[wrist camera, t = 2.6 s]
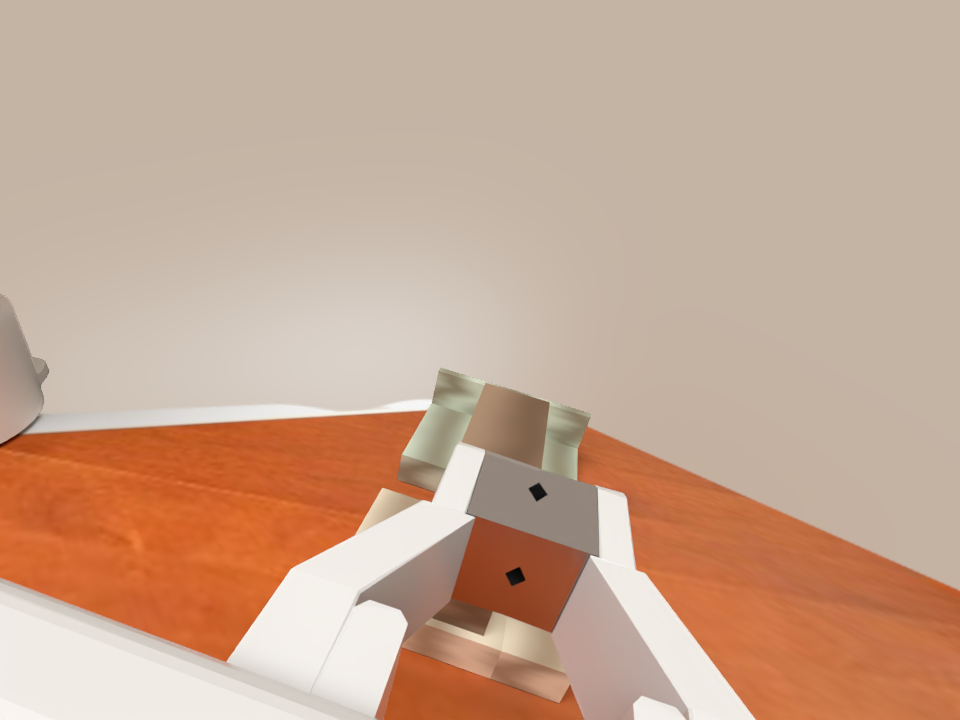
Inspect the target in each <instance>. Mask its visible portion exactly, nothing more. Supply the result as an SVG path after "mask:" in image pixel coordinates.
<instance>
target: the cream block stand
mask: <svg viewBox="0 0 960 720" xmlns="http://www.w3.org/2000/svg"><path fill="white" fill-rule="evenodd" d="M485 383H488V384H492V383H489V382H485V381H482V380H478V379H476V378H472V377H469V376H466V375H463V374H459V373H456V372H453V371H449V370H446V369H443V368H440V370H439V373H438V377H437V382H436V387H435V391H434V396H433V400H432V404H431V406H430V407H429V409H428V411H427V412H426V414H425V416H424V418H423V419H422V421H421V423H420V424H419V426H418V428H417V430H416V431H415V433H414V435H413V436H412V438H411V440H410V442H409V443H408V445H407V447H406V448H405V450H404V452H403V454H402V457H401V462H400V467H399V472H398V478H397V480H399V481H402V482H405V483H409V484H412V485H415V486H418V487H421V488H424V489H427V490H430V491H433V492H436V491H437V489H438V486H439V484H440V482H441V479H442V477H443V475H444V472H445V470H446V468H447V465H448V463H449V461H450V458H451V456H452V454H453V451H454V449H455V447H456V445H457V444H458V443H459V441H460V442H462V439H463V437H464V434H465V432H466V430H467V427H468V425H469V422H470V420H471V417H472V415H473V412H474V410H475V407H476V405H477V402H478V400H479V398H480V395H481V393H482V390H483V388H484V385H485ZM492 385H495V384H492ZM495 386H498V387H501V388H505V387H502V386H499V385H495ZM505 389H508V388H505ZM508 390H511V391H515V390H512V389H508ZM515 392H518V391H515ZM518 393H521V392H518ZM521 394H524V395H528V394H525V393H521ZM528 396H531V395H528ZM531 397H534V398H537V399H541V398H538V397H535V396H531ZM541 400H544V399H541ZM544 401H547V400H544ZM547 402H550V405H549V413H548V421H547V429H546V437H545V445H544V453H543V461H542V470H545V471H548V472H552V473H555V474H558V475H561V476H564V477H568V478H571V479H574V480H577V457H578V447H579V444H580V442H581V439H582V437H583V434H584V432H585V430H586V427H587V425H588V422H589V420H590V413H587V412H584V411H580V410H577V409H574V408H570V407H567V406H564V405H561V404H557V403H554V402H551V401H547ZM420 501H421V500H418V499H415V498H412V497H409V496H406V495H403V494H400V493H397V492H394V491H391V490H388V489H385V488H382V490H381V491H380V493H379V495H378V496H377V498H376V500H375V502H374V503H373V505H372V507H371V508H370V510H369V512H368V514H367V515H366V517H365V519H364V521H363V522H362V524H361V526H360V527H359V529H358V531H357V533H356V534H355V535H357V534H359V533H361V532H363V531H365V530H366V529H368V528H370V527H372V526H374V525H376V524H378V523H380V522H382V521H384V520H386V519H388V518H389V517H391V516H393V515H395V514H397V513H399V512H401V511H403V510H405V509H407V508H409V507H411V506H413V505H414V504H416V503H418V502H420ZM551 635H552V633H550V632H548V631H545V630H542V629H540V628H537V627H534V626H532V625H529V624H526V623H524V622H521V621H518V620H516V619H513V618H511V617H508V616H505V615H503V614H500V613H497V612H494V611H493V612H492V615H491V618H490V620H489V623H488V625H487V628H486V631H485V633H484V636H481V635H478V634H476V633H473V632H470V631H467V630H464V629H461V628H458V627H456V626H453V625H450V624H447V623H444V622H441V621H438V620H436V619H433V618H431V619H430V620H429V621H427V622H426V623H425V624H424V625H423V626H422V627H421V628H420V629H418V630H417V631H416V632H415V633H414V634H413V635H412V636H411V637H410V638H408V639H407V640H406V641H405V642H404V643H403V645H402V648H405V649H408V650H411V651H414V652H416V653H419V654H422V655H425V656H428V657H430V658H433V659H436V660H439V661H442V662H444V663H447V664H450V665H453V666H456V667H458V668H461V669H464V670H467V671H470V672H472V673H475V674H478V675H481V676H484V677H486V678H489V679H492V680H495V681H498V682H500V683H503V684H506V685H509V686H512V687H514V688H517V689H520V690H523V691H526V692H528V693H531V694H534V695H537V696H540V697H542V698H545V699H548V700H551V701H554V702H556V703H560V701H561V699H562V698H563V696H564V694H565V692H566V690H567V689H568V687H569V685H570V683H569V680H568V677H567V675H566V672H565V670H564V667H563V665H562V662H561V660H560V657H559V655H558V652H557V650H556V647H555V645H554V642H553V639H552V637H551Z"/></svg>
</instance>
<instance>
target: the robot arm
mask: <svg viewBox="0 0 960 720" xmlns="http://www.w3.org/2000/svg"><path fill="white" fill-rule="evenodd" d="M48 373H49V369H48V367H47V365H46V362H45V361H44V360H42V359H39V358H33V357H32V356H31V353H30V350H29V347H28V345H27V342H26V339H25V337H24V334H23V332H22V329H21V326H20V324H19V321H18V319H17V316H16V314H15V311H14V308H13V306H12V304H11V302H10V300H9V299H8V298H7V297H5V296H4V295H1V294H0V444H1V443H3V442H5V441H7V440H8V439H10V438H12V437H13V436H15V435H16V434H18V433H19V432H21V431H22V430H23V429H25V428H26V427H27V426H28V425H30V424H31V423H32V422H33V421H34V420H35V418H36V417H37V416H38V415H39V413H40V412H41V410H42V407H43V404H44V398H43V393H42V390H41V384H42V382H43V381H44V380H45V378H46V377H47V375H48ZM485 452H486V454H485ZM484 456H485V457H484ZM451 598H452V599H455V600H459V601H462V602H465V603H468V604H471V605H474V606H478V607H481V608H484V609H487V610H490V611H494V612H497V613H500V614H503V615H505V616H508V617H511V618H513V619H516V620H518V621H521V622H524V623H526V624H529V625H532V626H534V627H537V628H540V629H542V630H545V631H548V632H550V633H552V635H551V637H552V639H553V642H554V645H555V647H556V650H557V652H558V655H559V657H560V660H561V662H562V665H563V667H564V670H565V672H566V675H567V677H568V680H569V683H570V685H571V688H572V690H573V693H574V695H575V698H576V700H577V703H578V705H579V708H580V710H581V713H582V715H583V718H584V720H756V719H755V718H754V717H753V716H752V714H751V713H750V712H749V710H748V709H747V708H746V706H745V705H744V704H743V702H742V701H741V700H740V698H739V697H738V696H737V694H736V693H735V692H734V690H733V689H732V688H731V686H730V685H729V684H728V682H727V681H726V680H725V678H724V677H723V676H722V674H721V673H720V672H719V670H718V669H717V668H716V666H715V665H714V664H713V662H712V661H711V660H710V658H709V657H708V656H707V654H706V653H705V652H704V651H703V649H702V648H701V647H700V645H699V644H698V643H697V641H696V640H695V639H694V637H693V636H692V635H691V633H690V632H689V631H688V629H687V628H686V627H685V625H684V624H683V623H682V621H681V620H680V619H679V617H678V616H677V615H676V613H675V612H674V611H673V609H672V608H671V607H670V605H669V604H668V603H667V601H666V600H665V599H664V597H663V596H662V595H661V593H660V592H659V591H658V589H657V588H656V587H655V585H654V584H653V583H652V582H651V580H650V579H649V578H648V576H647V575H646V574H645V573H643V572H640V571H637V570H636V565H635V557H634V550H633V542H632V534H631V527H630V519H629V511H628V503H627V497H626V496H625V495H624V493H621V492H617V491H614V490H611V489H607V488H604V487H600V486H597V485H595V486H593V485H590V484H587V483H584V482H580V481H577V480H574V479H571V478H568V477H564V476H561V475H558V474H555V473H552V472H548V471H545V470H542V469H540V468H537V467H534V466H532V465H529V464H526V463H523V462H520V461H517V460H514V459H511V458H508V457H505V456H502V455H499V454H496V453H493V452H491V451H488V450H487V451H485V450H484V449H481V448H478V447H475V446H472V445H469V444H466V443H463V442H460V441H459V443H458V444H457V445H456V447H455V449H454V451H453V454H452V456H451V458H450V461H449V463H448V465H447V468H446V470H445V472H444V475H443V477H442V479H441V482H440V484H439V486H438V489H437V491H436V493H435V496H434V498H433V500H432V503H431V502H428V501H425V500H422V501H420V502H418V503H416V504H414V505H413V506H411V507H409V508H407V509H405V510H403V511H401V512H399V513H397V514H395V515H393V516H391V517H389V518H388V519H386V520H384V521H382V522H380V523H378V524H376V525H374V526H372V527H370V528H368V529H366V530H365V531H363V532H361V533H359V534H357V535H355V536H353V537H351V538H349V539H347V540H345V541H343V542H341V543H340V544H338V545H336V546H334V547H332V548H330V549H328V550H326V551H324V552H322V553H320V554H318V555H316V556H315V557H313V558H311V559H309V560H307V561H305V562H303V563H301V564H299V565H297V566H295V567H293V568H292V569H291V570H290V571H289V573H288V574H287V576H286V577H285V579H284V580H283V582H282V583H281V584H280V586H279V587H278V589H277V590H276V592H275V593H274V594H273V596H272V597H271V599H270V600H269V602H268V603H267V604H266V606H265V607H264V609H263V610H262V612H261V613H260V614H259V616H258V617H257V619H256V620H255V622H254V623H253V624H252V626H251V627H250V629H249V630H248V632H247V633H246V634H245V636H244V637H243V639H242V640H241V642H240V643H239V644H238V646H237V647H236V649H235V650H234V652H233V653H232V654H231V656H230V657H229V659H228V660H227V662H224V661H222V660H219V659H216V658H213V657H211V656H208V655H205V654H203V653H200V652H197V651H195V650H192V649H189V648H187V647H184V646H181V645H179V644H176V643H173V642H171V641H168V640H165V639H163V638H160V637H157V636H155V635H152V634H149V633H147V632H144V631H141V630H139V629H136V628H133V627H131V626H128V625H125V624H123V623H120V622H117V621H115V620H112V619H109V618H107V617H104V616H101V615H99V614H96V613H93V612H91V611H88V610H85V609H83V608H80V607H77V606H75V605H72V604H69V603H67V602H64V601H61V600H59V599H56V598H53V597H51V596H48V595H45V594H43V593H40V592H37V591H35V590H32V589H29V588H27V587H24V586H21V585H19V584H16V583H13V582H11V581H8V580H5V579H3V578H0V720H384V716H385V712H386V708H387V704H388V700H389V697H390V693H391V689H392V685H393V681H394V677H395V673H396V669H397V665H398V661H399V657H400V653H401V649H402V645H403V643H404V642H405V641H406V640H407V639H408V638H410V637H411V636H412V635H413V634H414V633H415V632H416V631H417V630H418V629H420V628H421V627H422V626H423V625H424V624H425V623H426V622H427V621H429V620H430V619H431V618H432V617H433V616H434V615H435V614H436V613H437V612H439V611H440V610H441V609H442V608H443V607H444V606H445V605H446V604H447V603H449V602H450V599H451Z"/></svg>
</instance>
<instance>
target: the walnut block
mask: <svg viewBox="0 0 960 720" xmlns="http://www.w3.org/2000/svg"><path fill="white" fill-rule="evenodd" d="M549 405H550V402H547V401H544V400H541V399H537V398H534V397H531V396H528V395H524V394H521V393H518V392H515V391H511V390H508V389H505V388H501V387H498V386H495V385H492V384H488V383H485V385H484V388H483V390H482V393H481V395H480V398H479V400H478V402H477V405H476V407H475V410H474V412H473V415H472V417H471V420H470V422H469V425H468V427H467V430H466V432H465V434H464V437H463V439H462V442H463V443H466V444H469V445H472V446H475V447H478V448H481V449H484V450H485V451H487V450H488V451H491V452H493V453H496V454H499V455H502V456H505V457H508V458H511V459H514V460H517V461H520V462H523V463H526V464H529V465H532V466H534V467H537V468H540V469H542V461H543V453H544V445H545V437H546V429H547V421H548V413H549ZM485 454H486V452H485ZM484 457H485V456H484ZM492 612H493V611H490V610H487V609H484V608H481V607H478V606H474V605H471V604H468V603H465V602H462V601H459V600H455V599H452V598H451V599H450V602H449V603H447V604H446V605H445V606H444V607H443V608H442V609H441V610H440V611H439V612H437V613H436V614H435V615H434V616H433V617H432V618H433V619H436V620H438V621H441V622H444V623H447V624H450V625H453V626H456V627H458V628H461V629H464V630H467V631H470V632H473V633H476V634H478V635H481V636H484V633H485V631H486V628H487V625H488V623H489V620H490V618H491V615H492Z"/></svg>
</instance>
